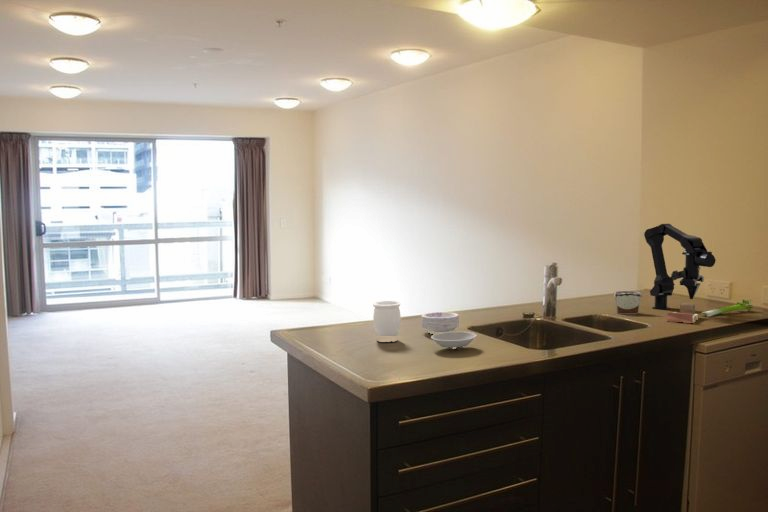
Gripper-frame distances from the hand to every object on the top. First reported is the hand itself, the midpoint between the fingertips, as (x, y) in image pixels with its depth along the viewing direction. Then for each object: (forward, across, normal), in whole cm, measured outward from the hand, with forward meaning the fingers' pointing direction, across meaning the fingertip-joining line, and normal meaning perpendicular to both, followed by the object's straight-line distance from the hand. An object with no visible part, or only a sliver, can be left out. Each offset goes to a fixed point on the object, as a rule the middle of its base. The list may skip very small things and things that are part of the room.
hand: (691, 299), depth 279 cm
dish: (+7, +116, -54) cm, 128 cm away
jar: (+8, +119, -83) cm, 145 cm away
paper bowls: (+8, +96, -73) cm, 121 cm away
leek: (+8, -12, +13) cm, 19 cm away
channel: (+7, +16, 0) cm, 17 cm away
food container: (+8, +10, -26) cm, 29 cm away
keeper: (+7, +8, 0) cm, 11 cm away
